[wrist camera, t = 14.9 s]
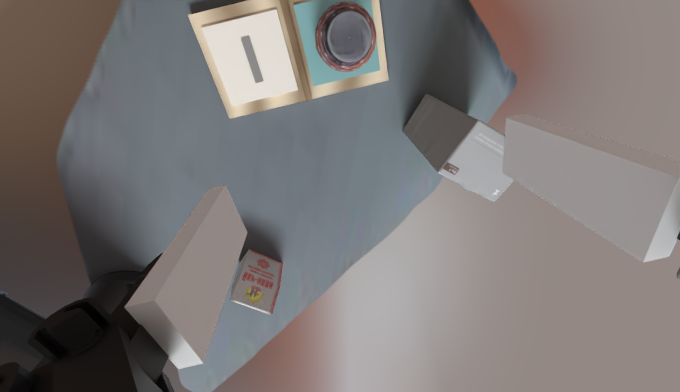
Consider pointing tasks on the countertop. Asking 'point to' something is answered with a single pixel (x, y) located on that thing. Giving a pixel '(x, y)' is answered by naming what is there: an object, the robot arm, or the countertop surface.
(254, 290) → the white product box
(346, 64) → the supplement bottle
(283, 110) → the countertop surface
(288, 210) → the countertop surface
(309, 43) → the teal pad
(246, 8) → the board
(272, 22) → the cream pad
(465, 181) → the skincare box
